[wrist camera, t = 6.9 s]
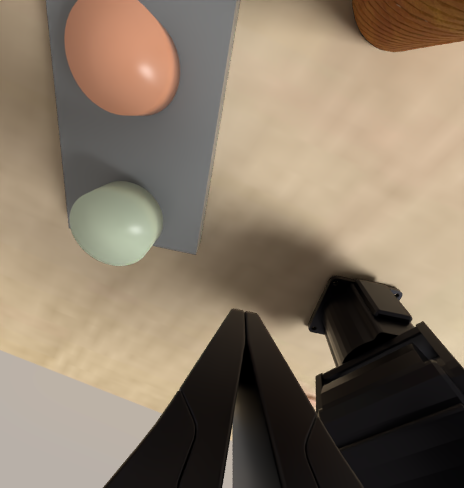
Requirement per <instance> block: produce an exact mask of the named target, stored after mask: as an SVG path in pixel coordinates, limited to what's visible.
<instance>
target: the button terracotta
mask: <svg viewBox="0 0 464 488" xmlns="http://www.w3.org/2000/svg"><path fill="white" fill-rule="evenodd" d="M64 40H65V52H66V57H67V61H68V64H69V67H70V70H71V72H72V75H73V77H74V79H75V80H76V82H77V84H78V86H79V87H80V88H81V90H82V91H83V92H84V93H85V95H86V96H87V97H88V98H89V99H90V100H91V101H92V102H93V103H95V104H96V105H97V106H99V107H100V108H102V109H104V110H106V111H108V112H110V113H113V114H117V115H125V116H148V115H153V114H156V113H158V112H160V111H162V110H163V109H165V108H166V107H167V106H168V105H169V104H170V102H171V101H172V100H173V98H174V96H175V94H176V92H177V89H178V86H179V81H180V62H179V56H178V53H177V49H176V47H175V44H174V42H173V40H172V38H171V36H170V35H169V33H168V32H167V30H166V29H165V28H164V27H163V26H162V24H161V23H160V22H159V21H158V20H157V19H156V18H155V17H154V16H153V15H152V14H151V13H150V12H149V11H148V10H147V8H146V7H145V6H144V5H143V4H141V3H140V2H139V1H138V0H78V1H77V2H76V3H75V5H74V6H73V7H72V9H71V11H70V13H69V16H68V19H67V22H66V27H65V36H64Z"/></svg>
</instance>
